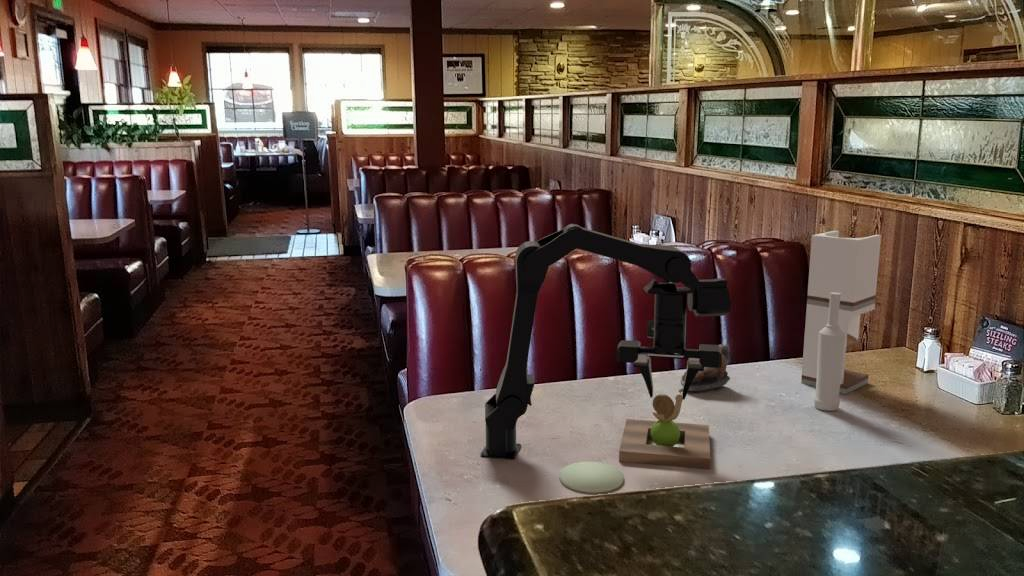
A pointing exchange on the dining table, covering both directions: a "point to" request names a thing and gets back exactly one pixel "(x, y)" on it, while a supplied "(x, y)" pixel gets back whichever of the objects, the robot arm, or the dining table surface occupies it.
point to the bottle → (830, 359)
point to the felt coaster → (591, 477)
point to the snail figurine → (666, 420)
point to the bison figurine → (711, 375)
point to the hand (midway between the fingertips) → (667, 397)
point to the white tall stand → (853, 276)
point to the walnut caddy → (687, 456)
